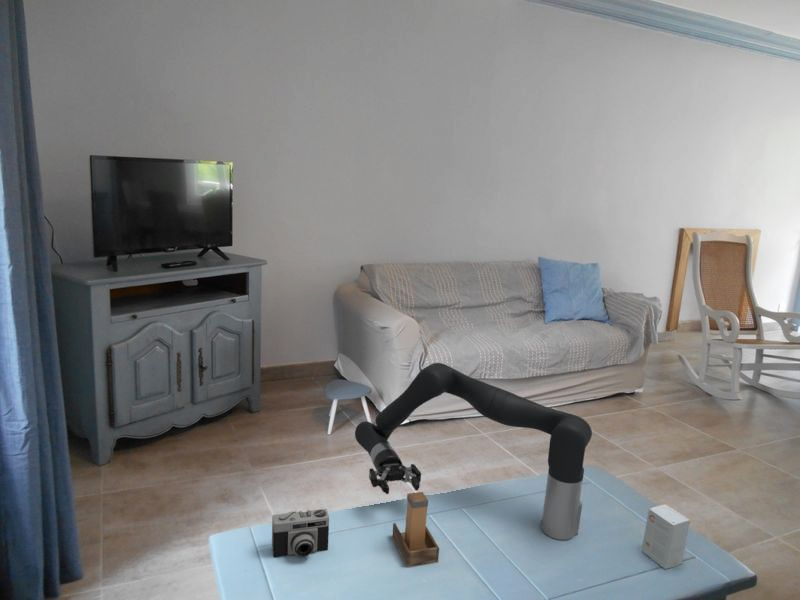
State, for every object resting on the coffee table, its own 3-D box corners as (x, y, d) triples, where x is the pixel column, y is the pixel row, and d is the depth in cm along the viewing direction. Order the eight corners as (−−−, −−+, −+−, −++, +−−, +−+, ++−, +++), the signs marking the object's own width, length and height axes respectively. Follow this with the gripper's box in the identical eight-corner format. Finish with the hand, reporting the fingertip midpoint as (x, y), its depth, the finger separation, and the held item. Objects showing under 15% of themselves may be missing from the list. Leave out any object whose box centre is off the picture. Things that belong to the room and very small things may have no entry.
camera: (274, 568, 147) (274, 532, 145) (271, 547, 155) (271, 512, 152) (331, 560, 151) (332, 524, 149) (325, 539, 159) (326, 506, 156)
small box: (682, 564, 158) (691, 520, 155) (665, 570, 155) (673, 525, 152) (657, 545, 165) (665, 503, 162) (640, 551, 162) (648, 508, 159)
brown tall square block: (418, 539, 160) (422, 491, 157) (424, 548, 156) (428, 500, 153) (403, 541, 159) (407, 493, 155) (409, 551, 155) (412, 502, 151)
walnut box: (421, 532, 164) (422, 519, 163) (438, 562, 153) (439, 548, 152) (392, 536, 162) (393, 523, 161) (407, 567, 150) (408, 553, 149)
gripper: (363, 451, 177) (378, 479, 162) (409, 446, 182) (428, 474, 167) (361, 474, 179) (377, 504, 164) (407, 469, 183) (426, 498, 168)
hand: (402, 489), depth 165 cm, fingers open, 8 cm apart
